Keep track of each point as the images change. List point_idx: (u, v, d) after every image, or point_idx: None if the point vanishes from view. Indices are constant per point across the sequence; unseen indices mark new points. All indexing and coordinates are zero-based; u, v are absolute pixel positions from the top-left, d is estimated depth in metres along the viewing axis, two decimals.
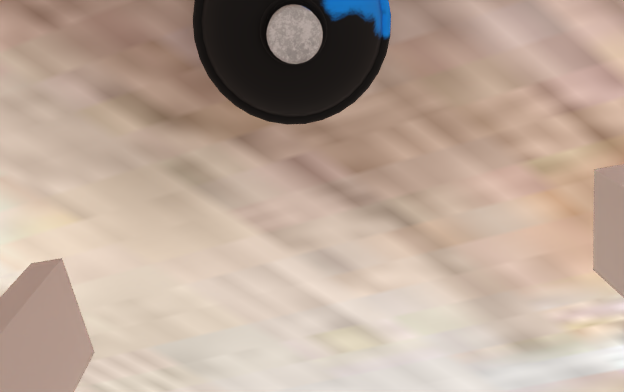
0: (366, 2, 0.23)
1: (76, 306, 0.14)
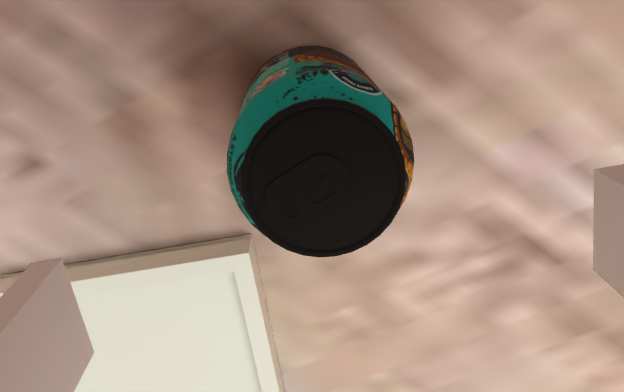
0: None
1: (76, 306, 0.14)
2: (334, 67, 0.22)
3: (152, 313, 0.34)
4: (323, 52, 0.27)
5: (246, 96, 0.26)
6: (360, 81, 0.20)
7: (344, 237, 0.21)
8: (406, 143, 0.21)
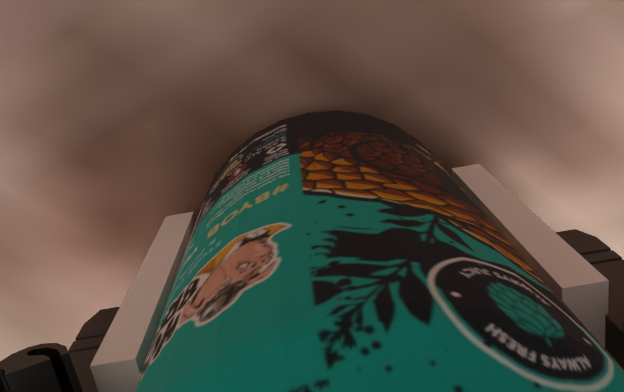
0: None
1: None
2: (428, 239, 0.07)
3: None
4: (365, 138, 0.12)
5: (187, 251, 0.11)
6: (546, 334, 0.06)
7: None
8: None
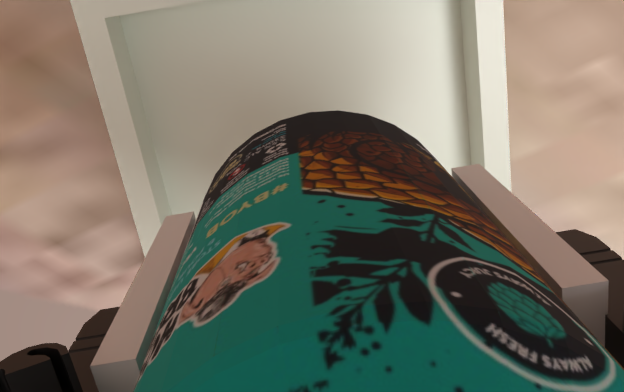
0: None
1: None
2: (428, 239, 0.07)
3: (320, 55, 0.23)
4: (364, 138, 0.12)
5: (186, 251, 0.11)
6: (547, 334, 0.06)
7: None
8: None
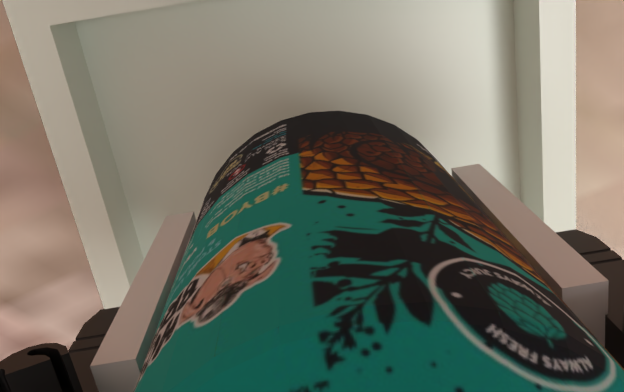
0: None
1: None
2: (428, 239, 0.07)
3: (333, 72, 0.18)
4: (365, 138, 0.12)
5: (187, 252, 0.11)
6: (548, 335, 0.06)
7: None
8: None
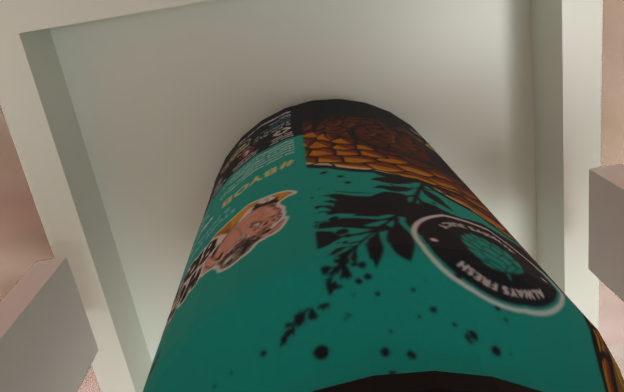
0: None
1: (80, 304, 0.14)
2: (413, 201, 0.08)
3: (334, 83, 0.16)
4: (362, 122, 0.13)
5: (203, 222, 0.12)
6: (507, 271, 0.07)
7: None
8: None
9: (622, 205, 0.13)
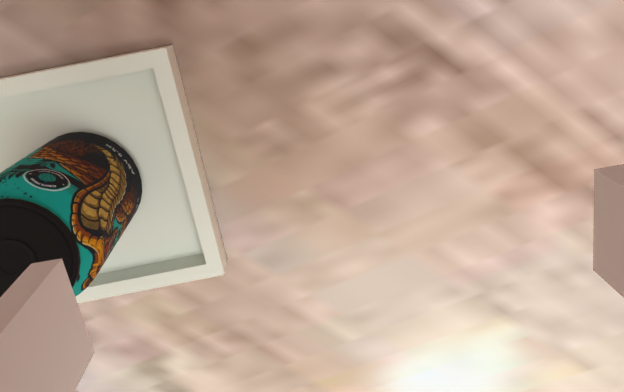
0: None
1: (76, 306, 0.14)
2: (42, 166, 0.29)
3: (83, 124, 0.37)
4: (72, 142, 0.33)
5: None
6: (46, 180, 0.27)
7: None
8: (87, 225, 0.28)
9: None
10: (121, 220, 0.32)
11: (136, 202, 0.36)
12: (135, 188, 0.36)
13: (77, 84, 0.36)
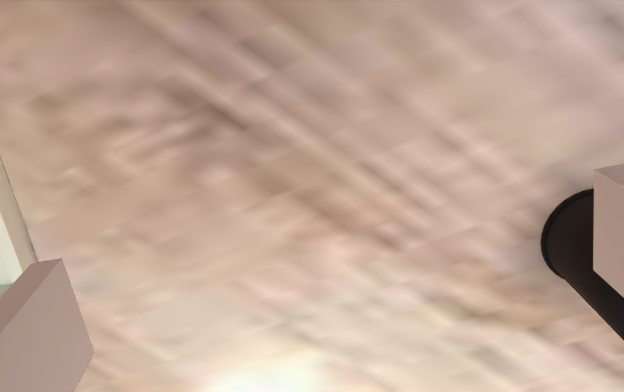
0: None
1: (76, 306, 0.14)
2: None
3: None
4: None
5: None
6: None
7: None
8: None
9: None
10: None
11: None
12: None
13: None
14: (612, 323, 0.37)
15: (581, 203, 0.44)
